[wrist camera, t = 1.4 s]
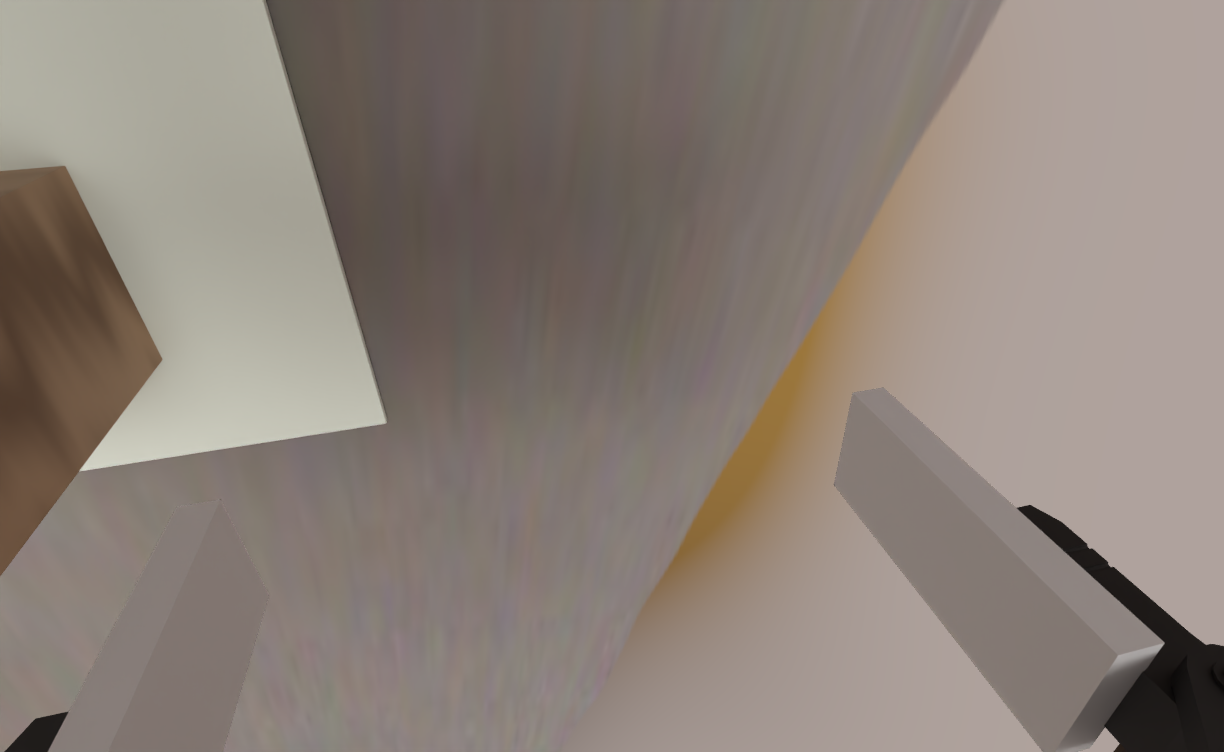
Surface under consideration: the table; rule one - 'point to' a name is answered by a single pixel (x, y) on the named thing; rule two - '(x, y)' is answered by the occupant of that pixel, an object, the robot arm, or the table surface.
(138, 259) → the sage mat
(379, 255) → the table surface
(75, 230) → the walnut block
